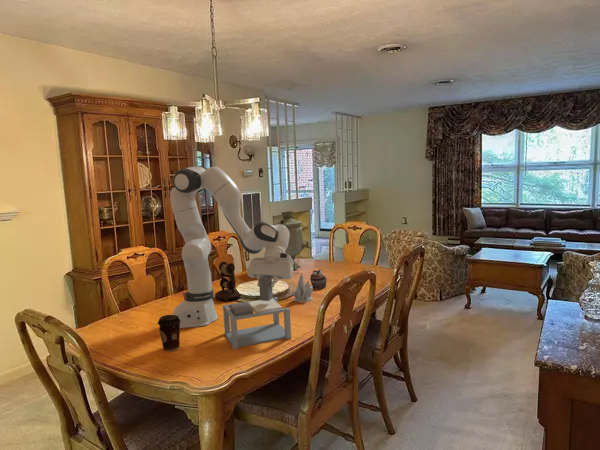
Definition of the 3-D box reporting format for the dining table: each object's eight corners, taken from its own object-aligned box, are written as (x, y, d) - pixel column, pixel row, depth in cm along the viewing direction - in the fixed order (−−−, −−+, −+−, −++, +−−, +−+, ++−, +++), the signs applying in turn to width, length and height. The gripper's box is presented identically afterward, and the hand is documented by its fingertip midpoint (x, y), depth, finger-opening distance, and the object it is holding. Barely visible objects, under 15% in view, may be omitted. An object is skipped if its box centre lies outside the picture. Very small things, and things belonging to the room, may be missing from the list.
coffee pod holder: (247, 297, 229) (245, 261, 227) (225, 303, 219) (222, 266, 216) (231, 292, 240) (229, 258, 237) (209, 298, 229) (207, 263, 227)
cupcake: (313, 290, 237) (312, 273, 236) (308, 285, 246) (308, 269, 245) (329, 288, 239) (328, 271, 238) (324, 284, 249) (323, 267, 247)
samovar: (297, 276, 270) (294, 214, 264) (265, 272, 284) (262, 214, 279) (320, 266, 294) (318, 210, 289) (290, 263, 308) (287, 209, 303)
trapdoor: (236, 320, 164) (236, 313, 164) (230, 310, 176) (229, 303, 176) (282, 312, 171) (281, 306, 170) (273, 303, 183) (272, 297, 182)
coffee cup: (160, 354, 160) (157, 322, 158) (158, 346, 168) (155, 315, 166) (183, 350, 164) (181, 318, 162) (180, 342, 171) (178, 312, 169)
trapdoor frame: (233, 349, 162) (231, 318, 161) (224, 333, 179) (222, 305, 177) (291, 338, 171) (289, 309, 169) (277, 323, 187) (276, 297, 186)
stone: (268, 301, 172) (267, 279, 171) (260, 300, 173) (258, 279, 172) (272, 298, 176) (271, 277, 175) (264, 297, 177) (263, 276, 176)
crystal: (317, 296, 225) (316, 269, 223) (306, 304, 213) (305, 275, 211) (301, 294, 230) (300, 268, 228) (289, 301, 218) (288, 274, 216)
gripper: (249, 253, 182) (240, 281, 175) (293, 255, 175) (285, 284, 167) (254, 261, 187) (245, 288, 179) (297, 263, 180) (289, 291, 172)
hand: (265, 286), depth 173 cm, fingers closed on stone, 4 cm apart
